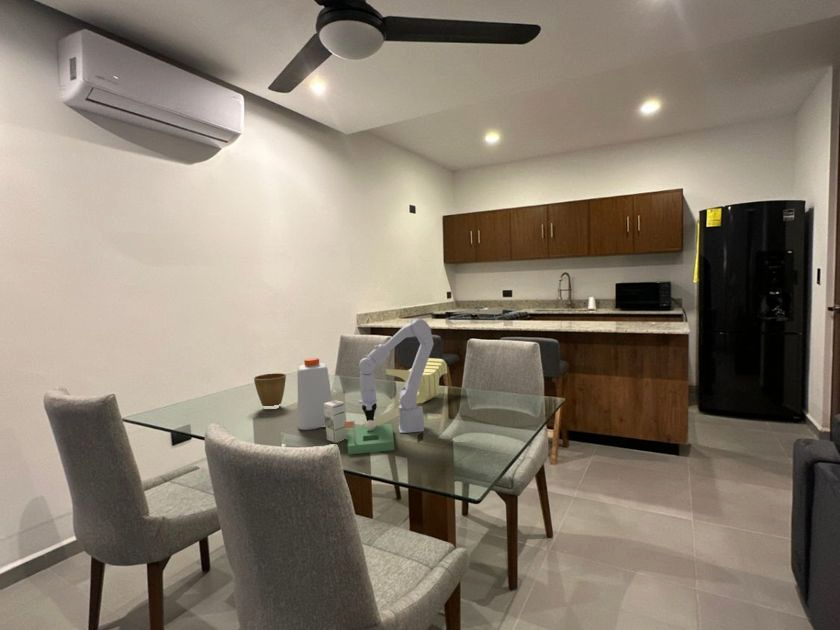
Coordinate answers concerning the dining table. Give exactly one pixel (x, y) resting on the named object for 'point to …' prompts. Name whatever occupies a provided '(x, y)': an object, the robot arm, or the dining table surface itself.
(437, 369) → the slatted curved stool
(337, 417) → the syrup box
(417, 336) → the robot arm
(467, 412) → the dining table surface
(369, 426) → the ball
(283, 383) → the plant pot
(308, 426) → the plastic bottle
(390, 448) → the green slotted block
